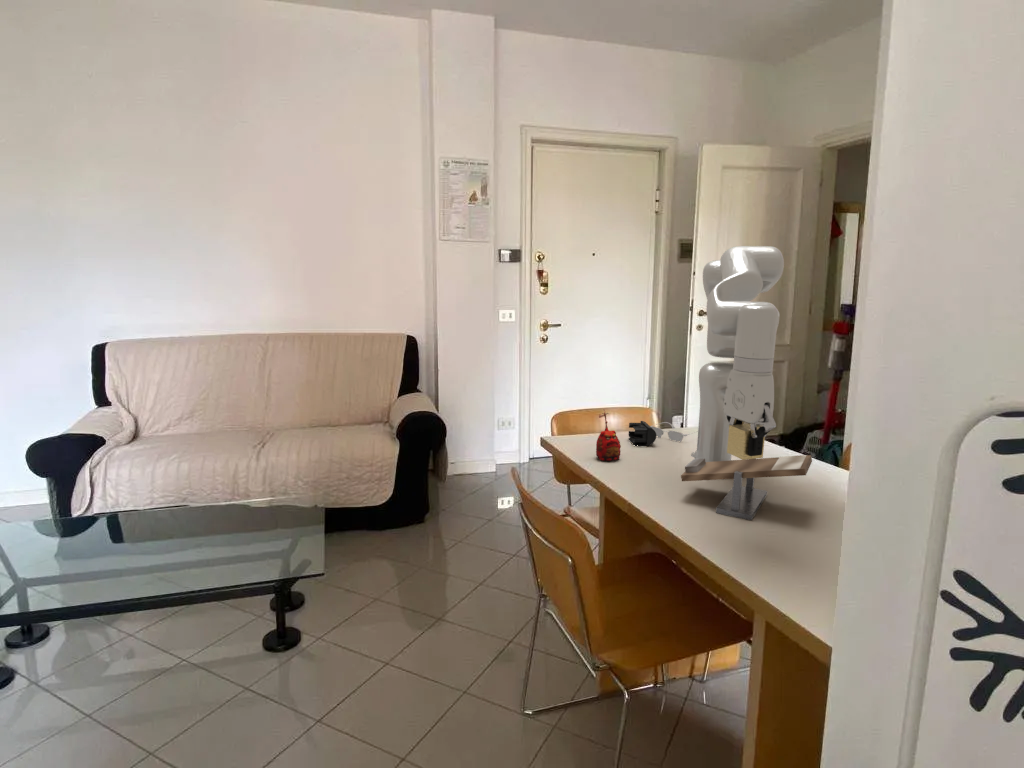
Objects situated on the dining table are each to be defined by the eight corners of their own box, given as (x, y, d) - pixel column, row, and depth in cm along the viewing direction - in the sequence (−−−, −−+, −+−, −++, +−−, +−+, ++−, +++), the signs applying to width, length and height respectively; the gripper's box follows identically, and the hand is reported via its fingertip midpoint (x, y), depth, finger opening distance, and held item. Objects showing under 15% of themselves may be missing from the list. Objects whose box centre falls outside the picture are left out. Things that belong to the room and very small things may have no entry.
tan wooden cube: (726, 452, 127) (729, 425, 126) (746, 450, 128) (748, 423, 127) (742, 459, 122) (745, 431, 121) (762, 457, 124) (765, 429, 122)
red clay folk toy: (603, 463, 178) (605, 414, 175) (590, 457, 184) (592, 409, 181) (624, 460, 181) (626, 412, 178) (611, 454, 187) (613, 407, 185)
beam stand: (715, 512, 140) (719, 471, 139) (734, 489, 157) (737, 451, 155) (751, 520, 136) (755, 477, 135) (766, 495, 153) (770, 456, 151)
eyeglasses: (645, 436, 213) (646, 425, 213) (672, 428, 226) (672, 418, 225) (684, 444, 202) (685, 433, 202) (710, 436, 215) (710, 425, 214)
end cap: (655, 447, 197) (657, 427, 196) (634, 447, 197) (635, 427, 195) (648, 439, 207) (649, 420, 206) (627, 439, 206) (629, 420, 205)
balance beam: (681, 482, 147) (678, 470, 147) (696, 467, 159) (694, 456, 159) (805, 476, 132) (803, 462, 131) (812, 460, 144) (810, 448, 144)
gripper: (711, 359, 128) (704, 441, 132) (767, 373, 112) (758, 465, 116) (740, 358, 131) (733, 438, 134) (799, 371, 115) (789, 462, 118)
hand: (745, 450), depth 125 cm, fingers closed on tan wooden cube, 5 cm apart
